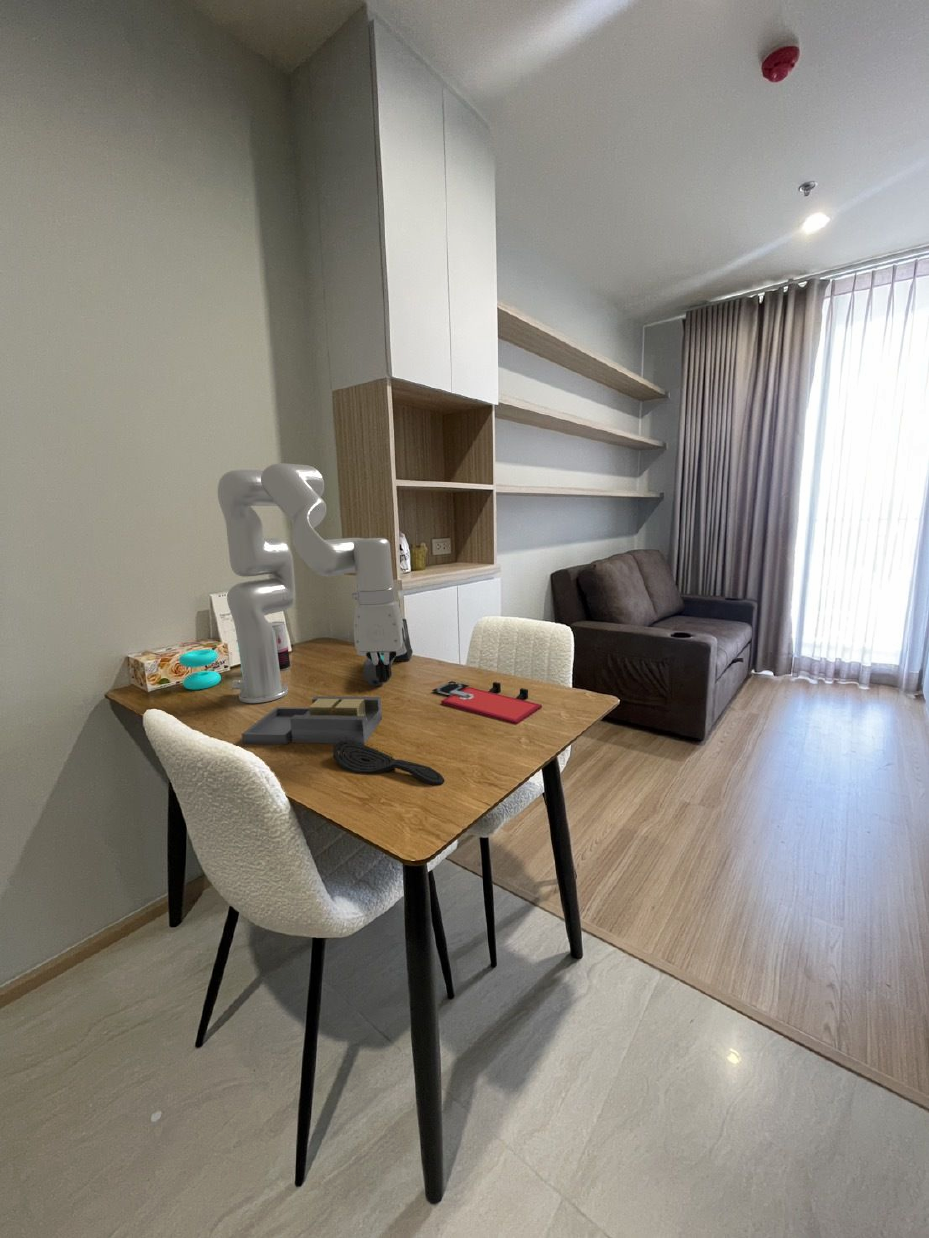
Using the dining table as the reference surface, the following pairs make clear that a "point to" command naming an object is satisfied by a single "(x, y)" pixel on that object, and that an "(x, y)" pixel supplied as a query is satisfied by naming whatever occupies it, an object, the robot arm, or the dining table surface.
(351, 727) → the slot block
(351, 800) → the dining table surface
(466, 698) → the red board with handle
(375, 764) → the hairbrush
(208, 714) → the dining table surface
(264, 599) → the robot arm
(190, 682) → the donuts
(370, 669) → the gun
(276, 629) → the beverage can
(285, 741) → the chip tray
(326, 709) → the brass chip
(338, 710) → the brass chip
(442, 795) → the dining table surface
